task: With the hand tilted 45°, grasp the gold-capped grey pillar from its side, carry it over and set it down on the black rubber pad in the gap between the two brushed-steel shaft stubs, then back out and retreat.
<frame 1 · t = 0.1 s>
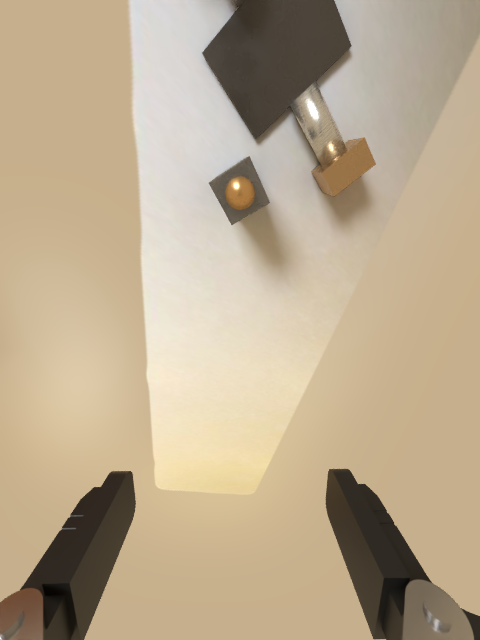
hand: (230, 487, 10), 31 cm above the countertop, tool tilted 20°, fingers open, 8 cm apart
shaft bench: (276, 50, 25), on the countertop
gold-capped grey pillar: (239, 185, 31), on the countertop
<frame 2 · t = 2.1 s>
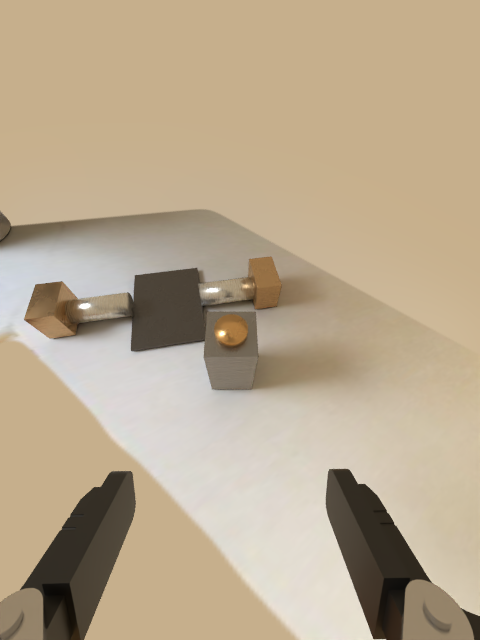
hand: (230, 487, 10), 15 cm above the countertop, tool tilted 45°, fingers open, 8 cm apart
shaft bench: (168, 306, 33), on the countertop
gold-capped grey pillar: (232, 370, 29), on the countertop
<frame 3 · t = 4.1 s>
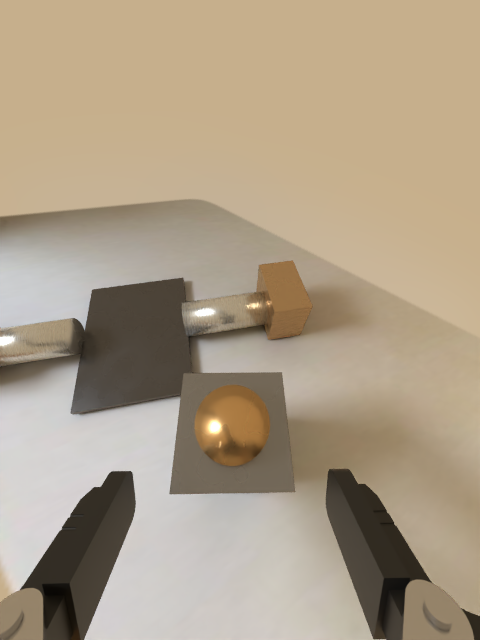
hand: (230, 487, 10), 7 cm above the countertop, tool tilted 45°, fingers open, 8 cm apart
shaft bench: (137, 336, 22), on the countertop
gold-capped grey pillar: (234, 448, 17), on the countertop
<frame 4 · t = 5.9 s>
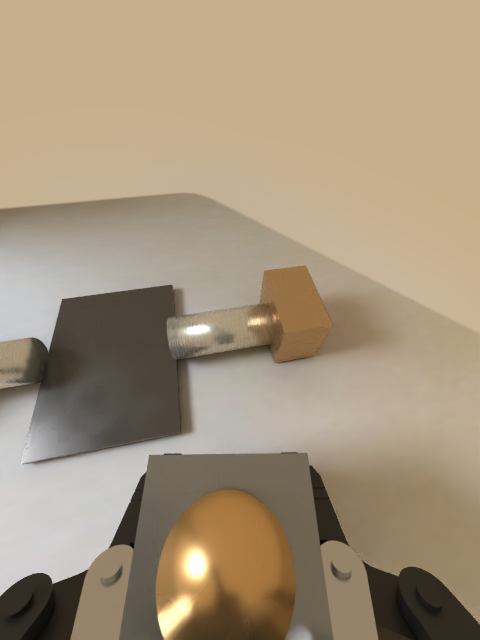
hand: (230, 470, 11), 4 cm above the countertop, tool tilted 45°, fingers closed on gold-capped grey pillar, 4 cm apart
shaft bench: (114, 357, 18), on the countertop
gold-capped grey pillar: (232, 513, 13), on the countertop, touching gripper
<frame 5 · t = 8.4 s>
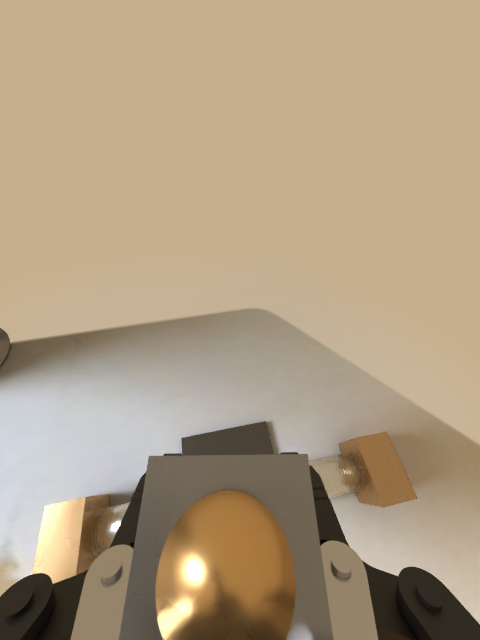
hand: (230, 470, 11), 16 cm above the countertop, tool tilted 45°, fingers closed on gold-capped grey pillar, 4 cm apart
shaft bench: (234, 498, 23), on the countertop
gold-capped grey pillar: (232, 514, 13), point 12 cm above the countertop, touching gripper
when the fingers open (6 cm above the countertop, at t = 11.1 s): gold-capped grey pillar drops 1 cm, resting on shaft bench.
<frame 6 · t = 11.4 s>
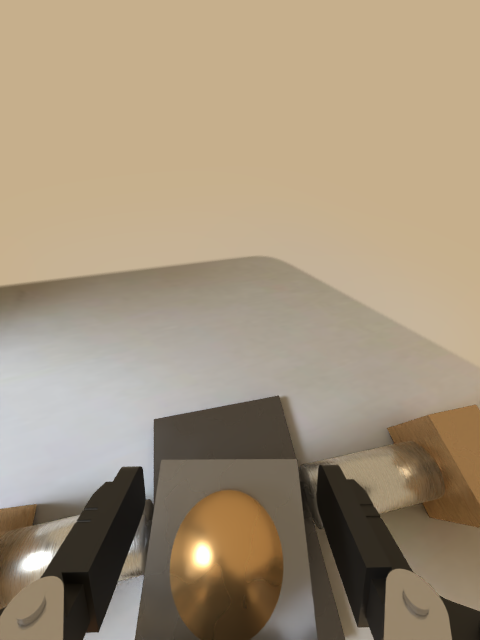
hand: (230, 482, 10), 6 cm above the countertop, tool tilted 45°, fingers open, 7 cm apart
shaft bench: (232, 510, 15), on the countertop
gold-capped grey pillar: (232, 512, 14), resting on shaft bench
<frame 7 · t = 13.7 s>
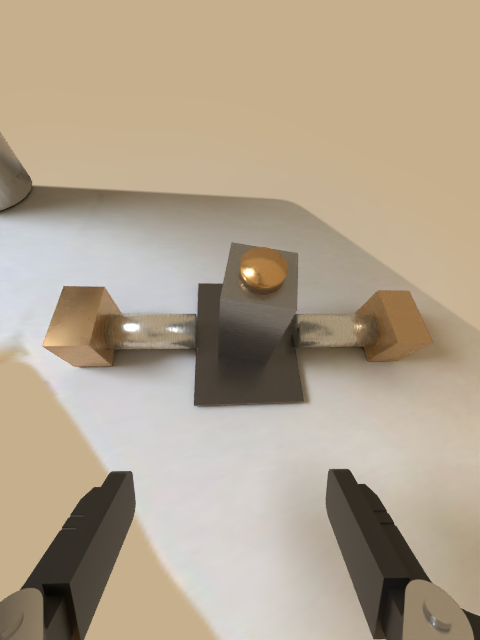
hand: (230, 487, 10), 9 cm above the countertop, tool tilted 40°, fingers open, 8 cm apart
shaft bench: (245, 337, 23), on the countertop
gold-capped grey pillar: (245, 336, 23), resting on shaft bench
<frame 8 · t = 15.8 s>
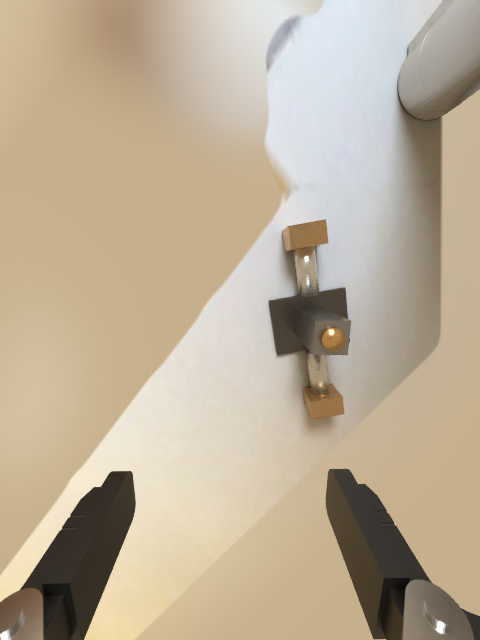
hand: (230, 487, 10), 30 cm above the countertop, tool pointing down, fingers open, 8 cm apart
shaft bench: (309, 321, 40), on the countertop
gold-capped grey pillar: (310, 322, 39), resting on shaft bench
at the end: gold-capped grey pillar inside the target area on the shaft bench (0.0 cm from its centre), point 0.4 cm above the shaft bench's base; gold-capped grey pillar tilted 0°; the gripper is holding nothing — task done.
